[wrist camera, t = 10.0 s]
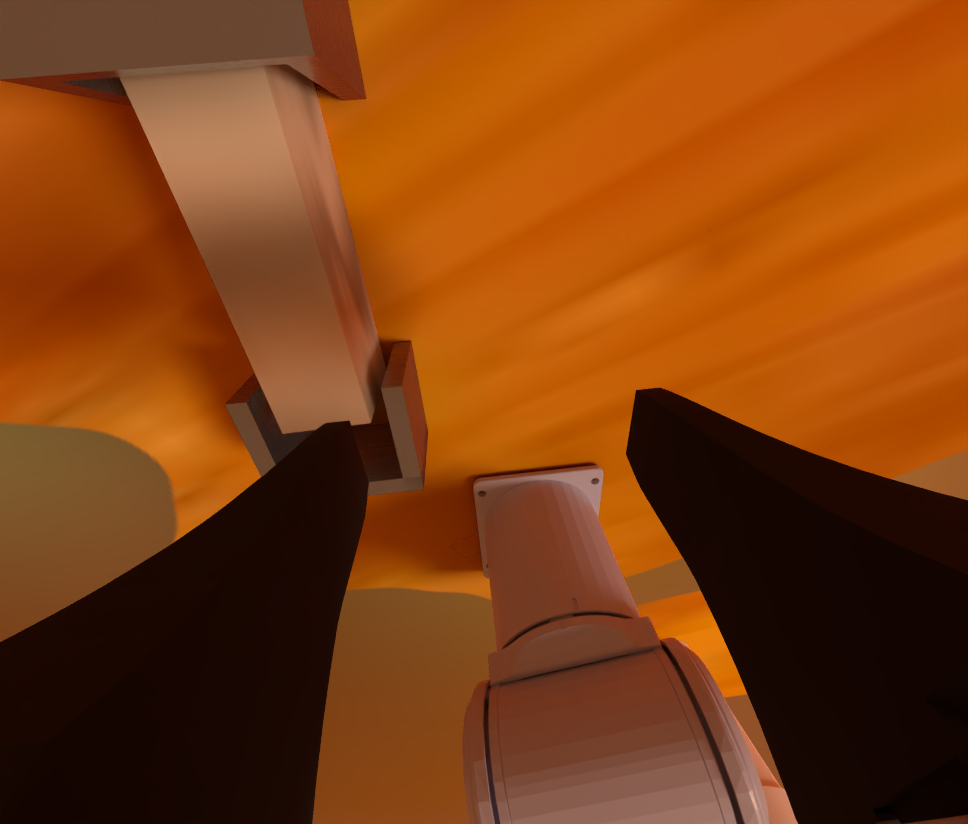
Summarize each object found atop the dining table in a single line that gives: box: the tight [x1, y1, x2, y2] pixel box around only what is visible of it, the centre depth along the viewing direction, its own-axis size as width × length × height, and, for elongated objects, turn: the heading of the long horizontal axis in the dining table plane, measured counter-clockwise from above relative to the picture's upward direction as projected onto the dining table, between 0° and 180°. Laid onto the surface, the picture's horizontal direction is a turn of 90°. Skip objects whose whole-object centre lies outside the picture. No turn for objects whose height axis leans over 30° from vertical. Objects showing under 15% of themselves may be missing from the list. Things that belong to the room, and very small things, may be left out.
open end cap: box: [225, 341, 428, 496], centre depth 18 cm, size 5×7×5 cm
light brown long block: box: [120, 64, 386, 434], centre depth 14 cm, size 12×4×5 cm, turn 5°
